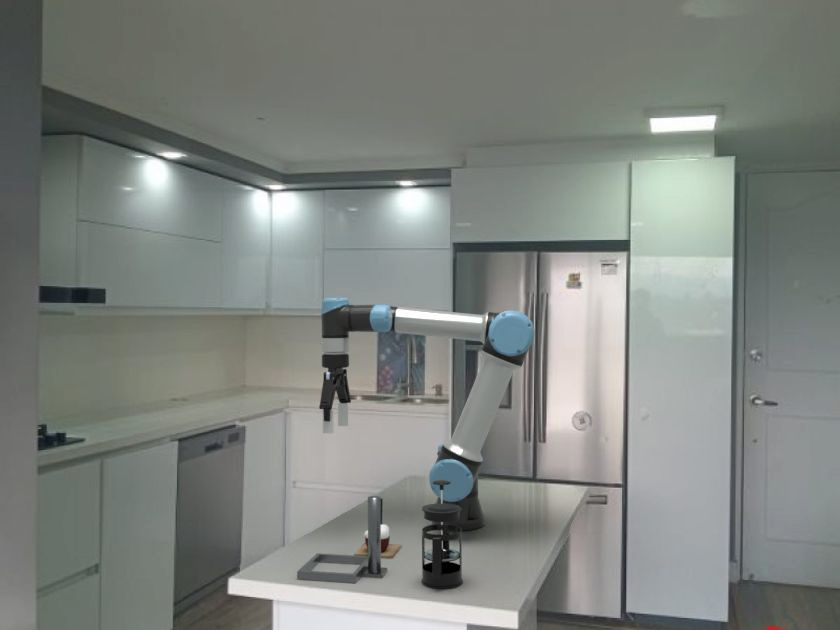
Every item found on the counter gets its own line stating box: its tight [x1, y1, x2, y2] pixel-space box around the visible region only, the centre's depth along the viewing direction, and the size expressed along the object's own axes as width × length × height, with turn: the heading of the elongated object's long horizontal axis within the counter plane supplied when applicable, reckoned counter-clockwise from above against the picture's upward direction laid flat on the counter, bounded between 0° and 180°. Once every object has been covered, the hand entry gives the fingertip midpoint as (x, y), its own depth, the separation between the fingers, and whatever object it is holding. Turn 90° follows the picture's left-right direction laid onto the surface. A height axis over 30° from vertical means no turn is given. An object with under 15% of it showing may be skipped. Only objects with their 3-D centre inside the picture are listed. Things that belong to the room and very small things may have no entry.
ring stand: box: [296, 495, 388, 584], centre depth 187 cm, size 19×14×18 cm
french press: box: [420, 480, 464, 590], centre depth 179 cm, size 12×9×23 cm
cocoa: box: [364, 497, 391, 552], centre depth 202 cm, size 10×6×12 cm, turn 155°
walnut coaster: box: [353, 542, 403, 559], centre depth 203 cm, size 10×10×1 cm
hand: (335, 429), depth 221 cm, fingers open, 13 cm apart
